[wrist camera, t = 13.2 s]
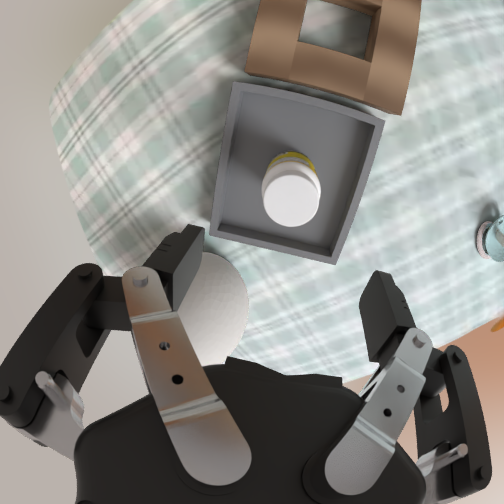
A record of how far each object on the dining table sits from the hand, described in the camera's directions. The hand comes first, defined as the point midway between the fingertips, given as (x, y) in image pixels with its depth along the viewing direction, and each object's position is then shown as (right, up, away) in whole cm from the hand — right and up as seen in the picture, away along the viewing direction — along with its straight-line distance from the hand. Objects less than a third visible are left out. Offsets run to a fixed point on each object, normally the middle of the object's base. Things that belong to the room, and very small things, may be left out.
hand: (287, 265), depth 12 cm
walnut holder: (+6, +22, +6) cm, 23 cm away
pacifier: (+31, +3, +14) cm, 34 cm away
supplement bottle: (+2, +9, +14) cm, 17 cm away
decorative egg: (-7, -3, +23) cm, 25 cm away
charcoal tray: (+2, +9, +15) cm, 17 cm away
